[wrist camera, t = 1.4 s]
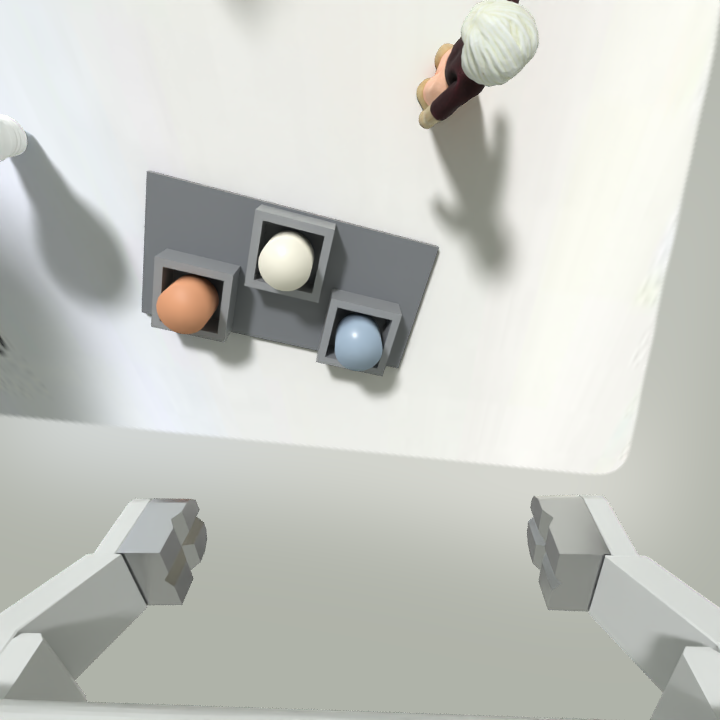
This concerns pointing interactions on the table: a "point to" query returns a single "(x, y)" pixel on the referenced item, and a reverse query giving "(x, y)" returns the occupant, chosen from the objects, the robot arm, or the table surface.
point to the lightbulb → (11, 138)
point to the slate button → (358, 342)
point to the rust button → (187, 304)
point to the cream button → (286, 261)
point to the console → (250, 291)
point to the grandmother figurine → (478, 57)
